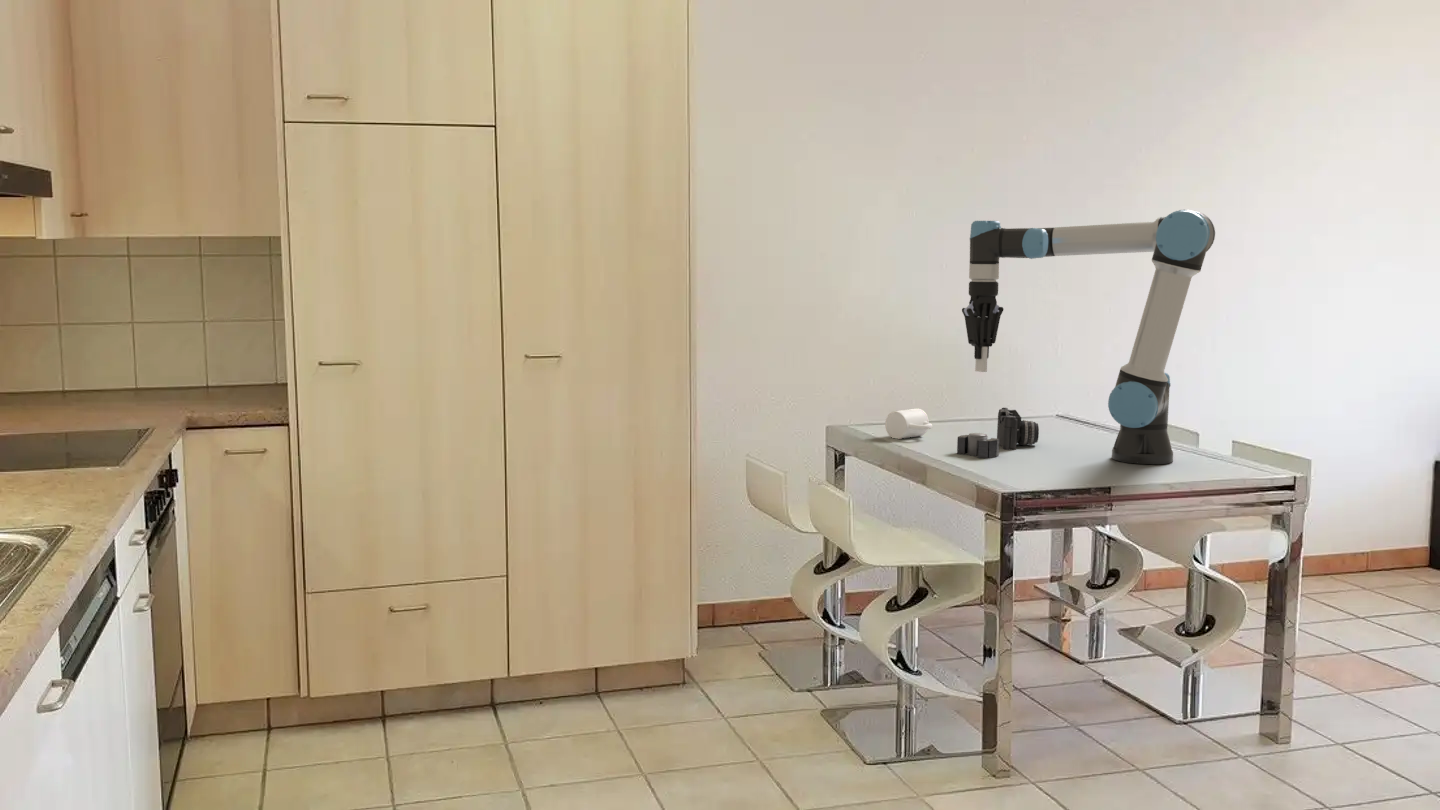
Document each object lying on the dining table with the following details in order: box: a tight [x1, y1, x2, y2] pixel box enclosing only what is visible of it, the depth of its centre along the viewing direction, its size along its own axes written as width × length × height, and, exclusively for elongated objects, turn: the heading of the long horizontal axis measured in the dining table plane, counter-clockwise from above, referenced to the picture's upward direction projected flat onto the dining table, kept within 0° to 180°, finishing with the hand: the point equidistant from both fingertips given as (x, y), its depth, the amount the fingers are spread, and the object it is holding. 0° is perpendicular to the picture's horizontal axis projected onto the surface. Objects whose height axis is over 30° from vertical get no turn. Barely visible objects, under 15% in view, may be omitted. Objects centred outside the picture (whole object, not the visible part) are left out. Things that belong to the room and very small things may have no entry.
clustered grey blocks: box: [956, 434, 1000, 459], centre depth 349 cm, size 11×7×4 cm
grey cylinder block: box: [966, 432, 989, 457], centre depth 349 cm, size 5×5×5 cm
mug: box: [884, 408, 933, 440], centre depth 375 cm, size 12×10×8 cm
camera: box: [996, 407, 1040, 451], centre depth 364 cm, size 14×11×10 cm
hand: (981, 371), depth 346 cm, fingers closed
